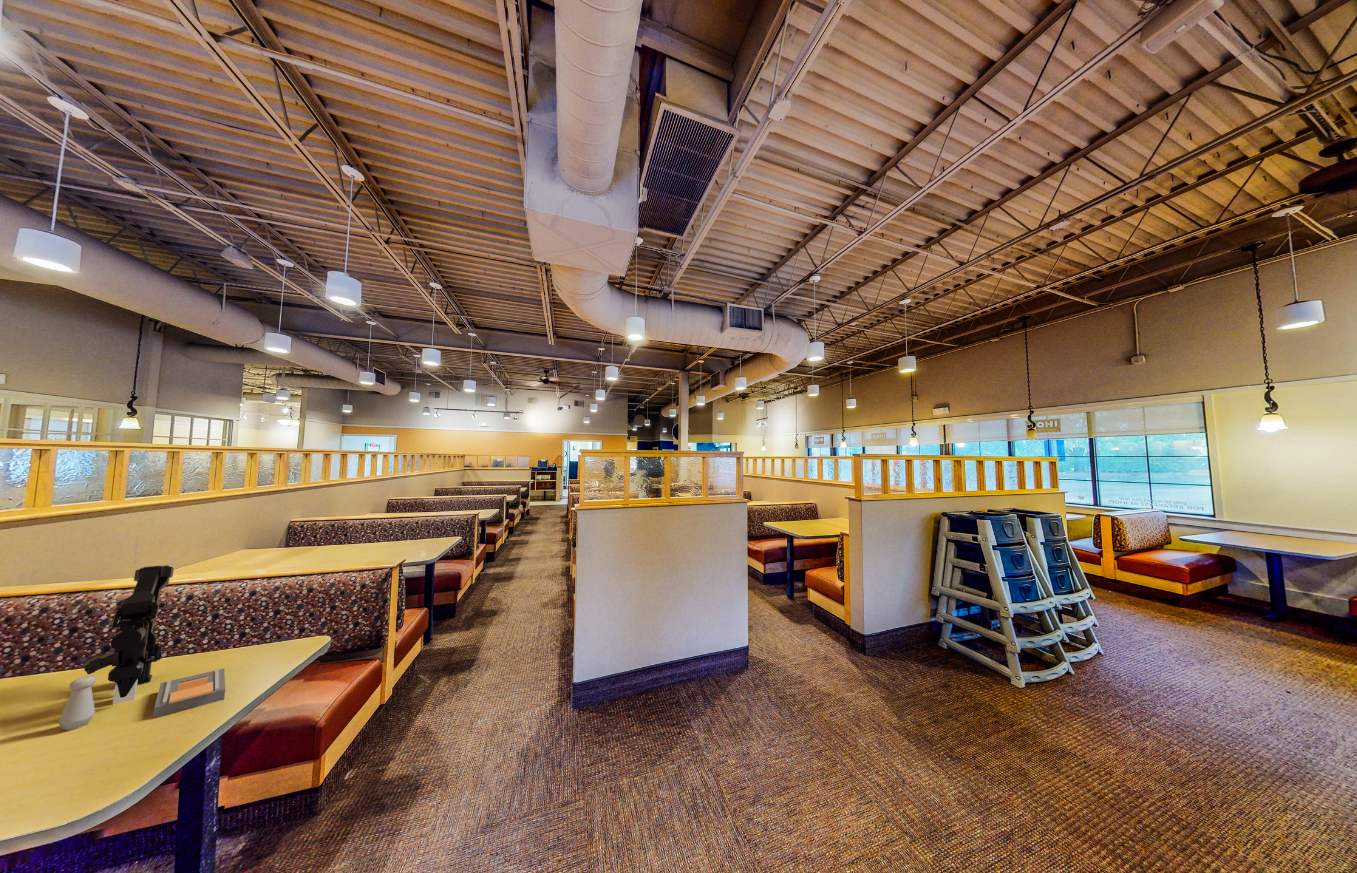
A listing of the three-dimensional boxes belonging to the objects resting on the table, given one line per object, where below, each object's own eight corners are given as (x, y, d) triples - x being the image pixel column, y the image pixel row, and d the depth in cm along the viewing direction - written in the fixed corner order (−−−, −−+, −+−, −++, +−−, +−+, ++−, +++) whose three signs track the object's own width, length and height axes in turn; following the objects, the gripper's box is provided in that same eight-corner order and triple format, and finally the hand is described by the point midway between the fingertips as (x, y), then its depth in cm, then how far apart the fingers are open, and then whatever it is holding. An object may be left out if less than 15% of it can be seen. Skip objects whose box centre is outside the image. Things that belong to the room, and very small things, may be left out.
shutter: (170, 693, 126) (172, 685, 127) (212, 683, 133) (213, 675, 133) (168, 703, 121) (170, 694, 121) (212, 692, 127) (213, 683, 127)
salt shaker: (65, 733, 112) (73, 683, 113) (51, 731, 113) (59, 681, 114) (99, 721, 117) (106, 674, 119) (85, 719, 119) (92, 672, 120)
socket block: (159, 692, 133) (161, 680, 134) (223, 677, 144) (224, 666, 144) (152, 718, 119) (154, 705, 119) (224, 699, 129) (225, 687, 130)
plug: (114, 700, 129) (117, 677, 129) (135, 695, 132) (138, 672, 132) (112, 705, 126) (115, 681, 127) (133, 699, 129) (137, 676, 130)
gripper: (95, 640, 131) (87, 691, 129) (82, 657, 119) (73, 714, 117) (151, 631, 139) (144, 679, 138) (145, 645, 127) (137, 698, 125)
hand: (125, 692), depth 129 cm, fingers open, 9 cm apart
